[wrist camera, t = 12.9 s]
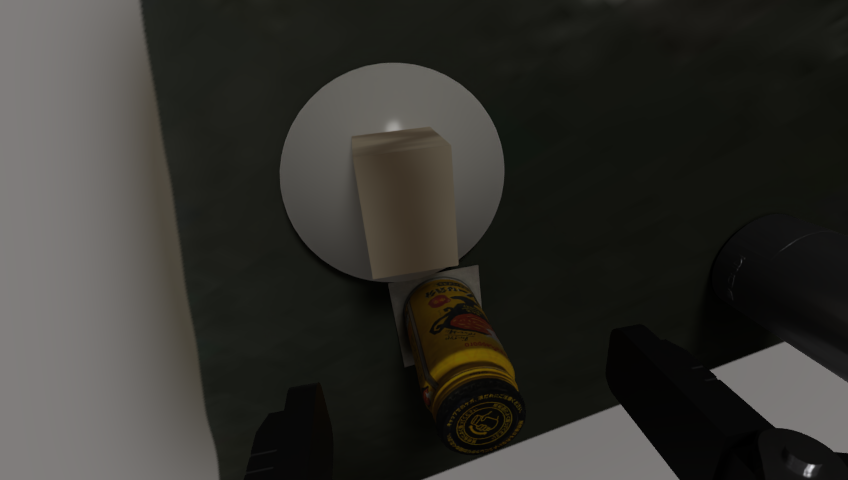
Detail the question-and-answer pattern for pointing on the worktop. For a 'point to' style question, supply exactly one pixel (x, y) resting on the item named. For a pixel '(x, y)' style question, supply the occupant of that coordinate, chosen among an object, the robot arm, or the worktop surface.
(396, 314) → the condiment
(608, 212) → the worktop surface
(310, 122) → the dish
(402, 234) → the block
